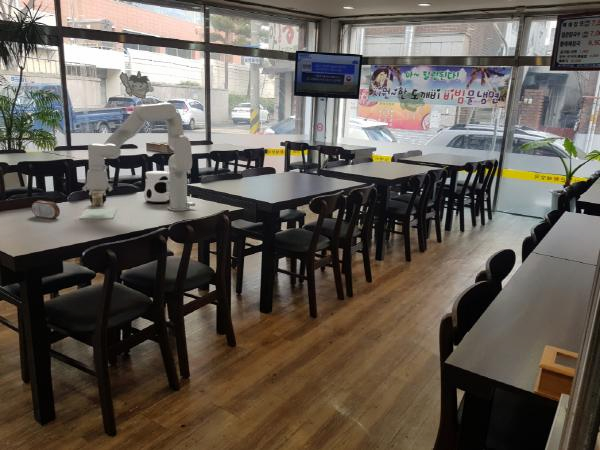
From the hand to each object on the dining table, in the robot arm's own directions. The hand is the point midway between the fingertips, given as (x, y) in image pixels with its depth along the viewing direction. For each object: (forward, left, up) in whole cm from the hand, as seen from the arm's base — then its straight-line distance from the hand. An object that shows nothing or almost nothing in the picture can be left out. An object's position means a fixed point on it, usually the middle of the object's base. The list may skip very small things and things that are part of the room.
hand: (98, 202), depth 254 cm
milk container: (-30, -34, -7) cm, 46 cm away
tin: (+24, +7, -7) cm, 26 cm away
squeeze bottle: (+4, -25, -7) cm, 26 cm away
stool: (0, 0, -1) cm, 1 cm away
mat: (0, 0, -7) cm, 7 cm away
